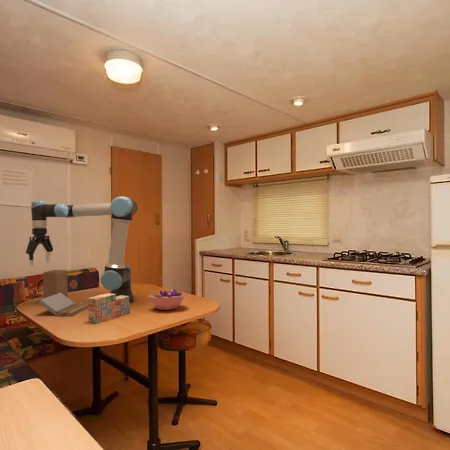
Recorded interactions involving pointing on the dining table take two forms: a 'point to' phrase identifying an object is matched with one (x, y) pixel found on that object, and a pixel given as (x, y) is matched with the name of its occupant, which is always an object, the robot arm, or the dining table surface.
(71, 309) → the board
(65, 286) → the wooden block
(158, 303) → the cell model
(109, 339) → the dining table surface
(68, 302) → the plank
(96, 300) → the stack of blocks
